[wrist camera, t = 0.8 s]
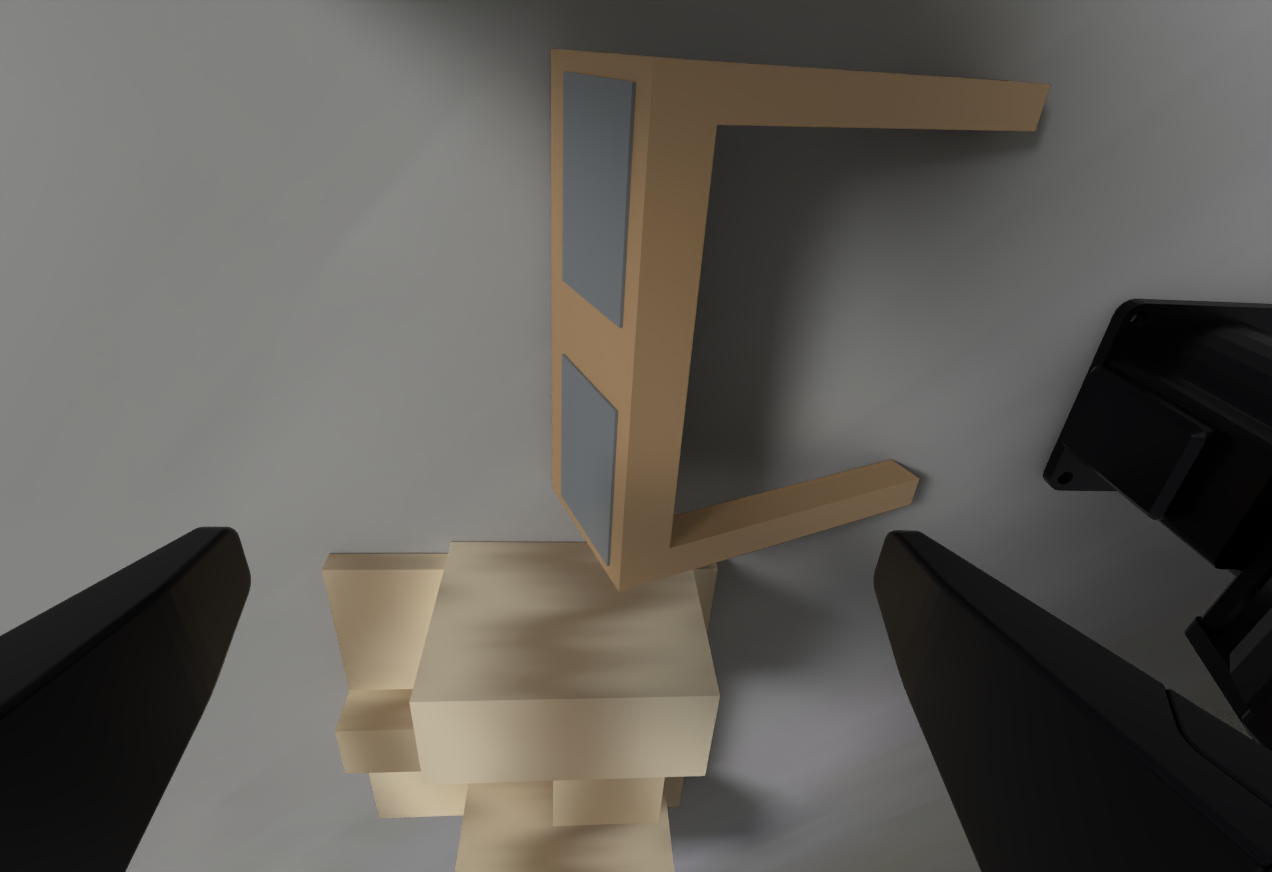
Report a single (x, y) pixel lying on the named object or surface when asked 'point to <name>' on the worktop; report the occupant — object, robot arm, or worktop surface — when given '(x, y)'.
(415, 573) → the wooden block stand
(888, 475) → the glasses
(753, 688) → the worktop surface
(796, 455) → the worktop surface
